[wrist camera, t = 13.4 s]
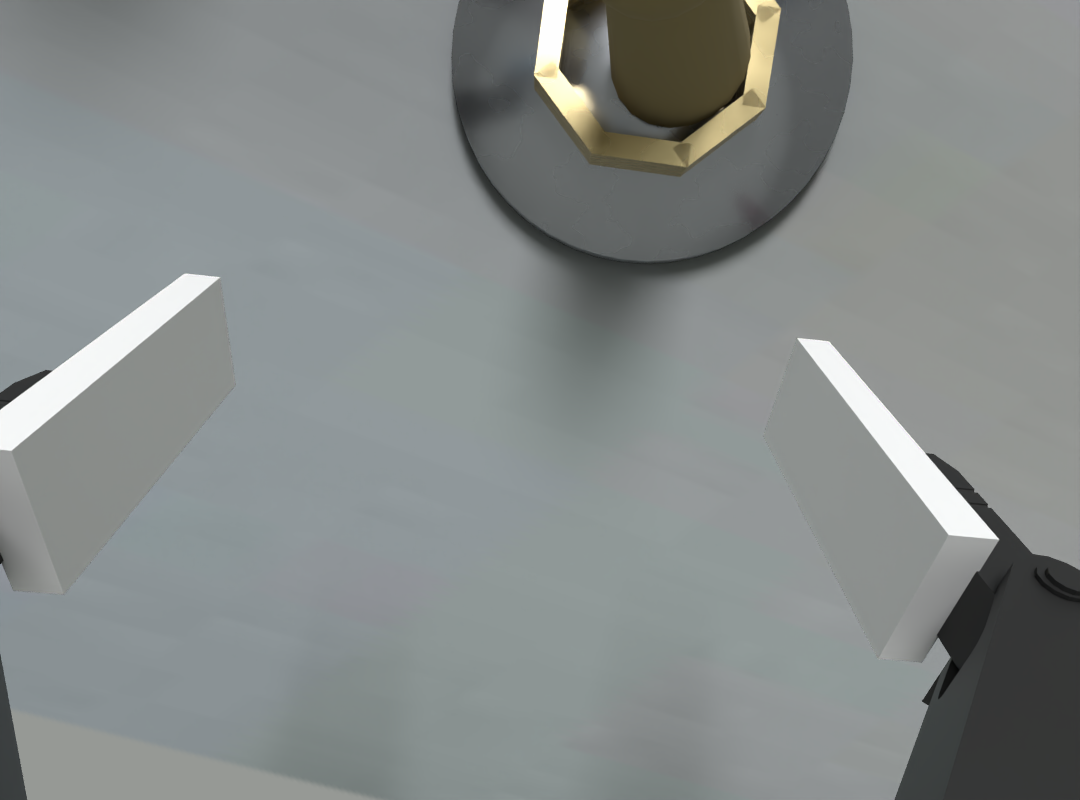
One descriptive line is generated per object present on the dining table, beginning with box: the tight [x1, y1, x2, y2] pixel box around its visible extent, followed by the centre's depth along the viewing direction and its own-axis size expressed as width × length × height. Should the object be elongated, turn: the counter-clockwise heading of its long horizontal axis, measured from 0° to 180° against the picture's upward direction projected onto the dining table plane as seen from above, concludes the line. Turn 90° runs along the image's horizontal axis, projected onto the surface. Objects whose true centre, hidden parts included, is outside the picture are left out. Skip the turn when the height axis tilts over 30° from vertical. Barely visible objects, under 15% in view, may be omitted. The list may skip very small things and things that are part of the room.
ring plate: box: [451, 0, 853, 264], centre depth 29 cm, size 18×18×2 cm
